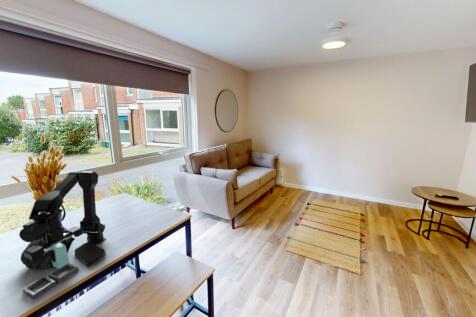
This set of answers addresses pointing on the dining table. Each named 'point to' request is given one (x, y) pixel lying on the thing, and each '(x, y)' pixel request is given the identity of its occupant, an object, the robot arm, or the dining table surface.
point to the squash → (39, 262)
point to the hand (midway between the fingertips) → (60, 258)
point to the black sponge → (90, 253)
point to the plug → (60, 255)
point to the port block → (40, 292)
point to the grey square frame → (64, 277)
